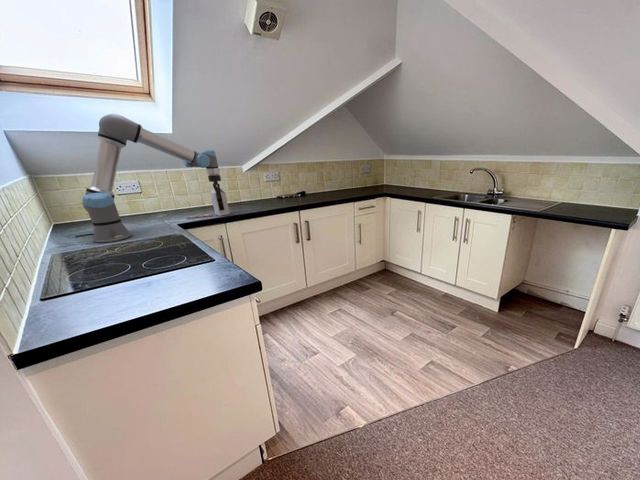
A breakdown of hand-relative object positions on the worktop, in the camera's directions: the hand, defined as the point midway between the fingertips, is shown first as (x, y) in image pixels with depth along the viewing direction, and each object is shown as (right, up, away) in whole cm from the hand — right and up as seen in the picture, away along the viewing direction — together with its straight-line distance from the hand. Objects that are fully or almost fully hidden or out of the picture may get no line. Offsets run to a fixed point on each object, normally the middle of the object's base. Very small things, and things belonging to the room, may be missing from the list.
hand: (221, 208), depth 208 cm
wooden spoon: (-12, -7, -5) cm, 15 cm away
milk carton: (0, -4, +2) cm, 4 cm away
